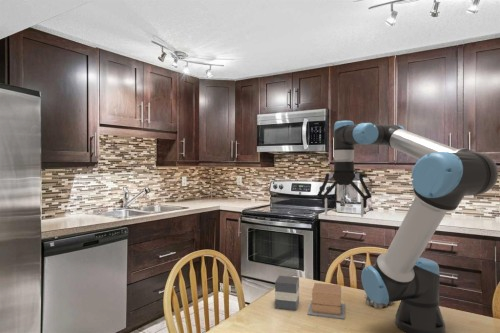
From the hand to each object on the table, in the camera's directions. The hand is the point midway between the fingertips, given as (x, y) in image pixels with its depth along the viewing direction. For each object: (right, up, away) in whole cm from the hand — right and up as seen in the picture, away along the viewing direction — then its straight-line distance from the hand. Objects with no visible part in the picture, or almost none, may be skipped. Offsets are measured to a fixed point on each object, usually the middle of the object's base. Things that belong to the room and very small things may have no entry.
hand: (343, 215), depth 136 cm
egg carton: (+14, -35, +1) cm, 38 cm away
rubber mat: (-8, -35, -5) cm, 36 cm away
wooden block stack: (-8, -34, -4) cm, 35 cm away
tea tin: (-22, -35, 0) cm, 41 cm away
